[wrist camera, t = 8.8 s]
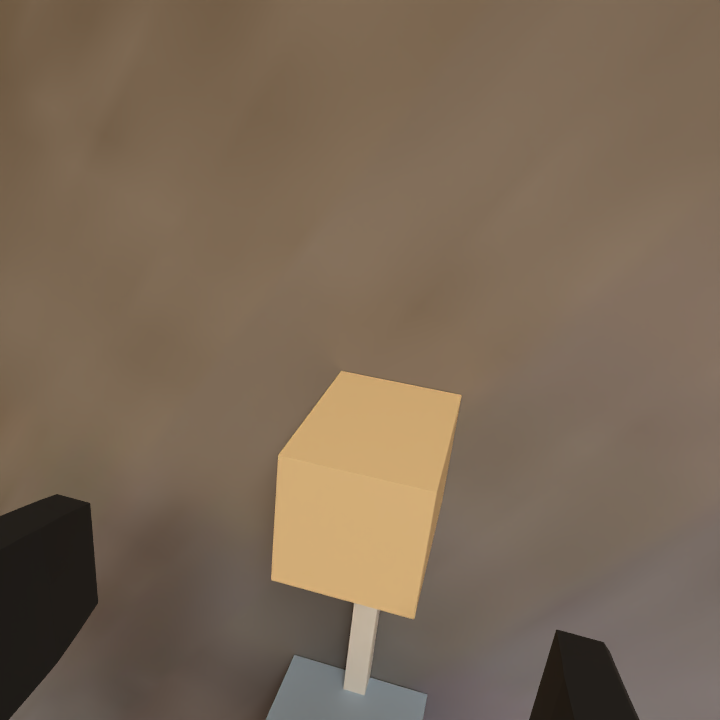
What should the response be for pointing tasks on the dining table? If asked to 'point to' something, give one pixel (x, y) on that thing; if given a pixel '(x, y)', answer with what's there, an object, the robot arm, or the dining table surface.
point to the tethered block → (360, 530)
